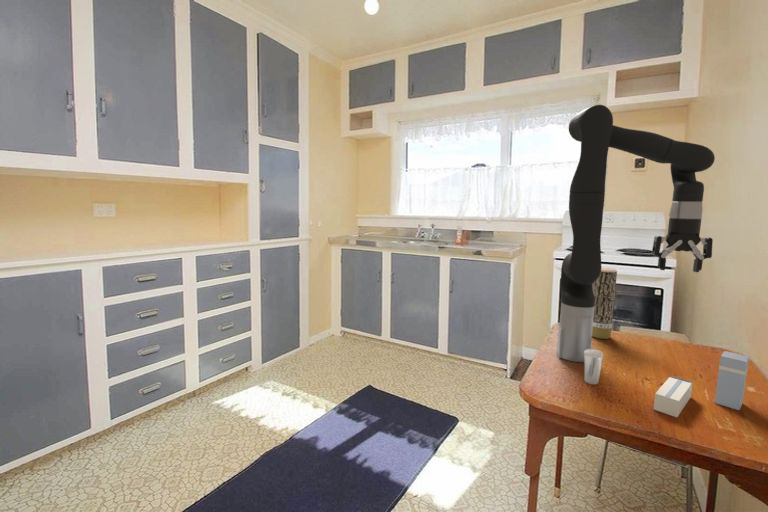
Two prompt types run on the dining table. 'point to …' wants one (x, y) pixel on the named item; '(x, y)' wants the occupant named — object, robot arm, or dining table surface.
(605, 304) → the paper tube
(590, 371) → the milkshake
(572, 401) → the dining table surface
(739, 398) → the tall grey box
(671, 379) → the white striped box
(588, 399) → the dining table surface
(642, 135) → the robot arm
